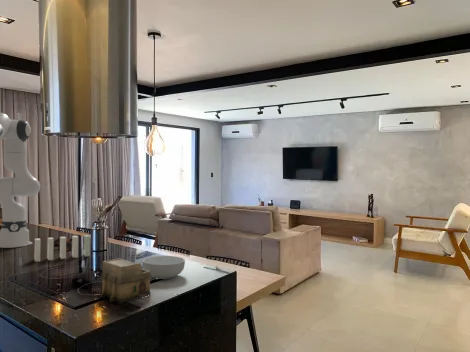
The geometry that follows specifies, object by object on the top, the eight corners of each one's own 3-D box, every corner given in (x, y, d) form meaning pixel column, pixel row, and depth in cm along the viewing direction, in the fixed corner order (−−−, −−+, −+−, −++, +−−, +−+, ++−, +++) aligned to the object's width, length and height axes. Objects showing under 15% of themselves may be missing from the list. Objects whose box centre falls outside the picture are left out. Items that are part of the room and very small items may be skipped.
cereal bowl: (193, 277, 143) (193, 260, 143) (157, 286, 132) (158, 266, 132) (168, 269, 155) (168, 253, 155) (134, 276, 143) (134, 259, 144)
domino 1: (35, 261, 166) (35, 240, 166) (34, 259, 170) (34, 238, 170) (40, 261, 167) (40, 239, 167) (39, 259, 171) (39, 238, 171)
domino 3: (61, 259, 172) (61, 238, 172) (59, 257, 176) (60, 236, 176) (65, 258, 173) (66, 238, 173) (64, 256, 177) (64, 236, 177)
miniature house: (119, 306, 111) (119, 269, 111) (96, 295, 120) (96, 261, 120) (158, 294, 122) (158, 261, 122) (134, 286, 131) (135, 255, 131)
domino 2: (48, 260, 169) (48, 239, 169) (47, 258, 173) (47, 237, 173) (53, 259, 170) (53, 238, 170) (51, 257, 174) (52, 237, 174)
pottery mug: (59, 253, 186) (53, 239, 187) (54, 258, 192) (48, 245, 193) (81, 245, 195) (75, 231, 196) (76, 250, 201) (70, 237, 202)
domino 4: (73, 257, 175) (74, 237, 175) (71, 255, 179) (72, 235, 179) (77, 257, 176) (78, 237, 176) (76, 255, 180) (76, 235, 180)
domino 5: (85, 256, 178) (85, 236, 178) (83, 254, 182) (83, 235, 182) (89, 256, 179) (90, 236, 179) (87, 254, 183) (87, 234, 183)
